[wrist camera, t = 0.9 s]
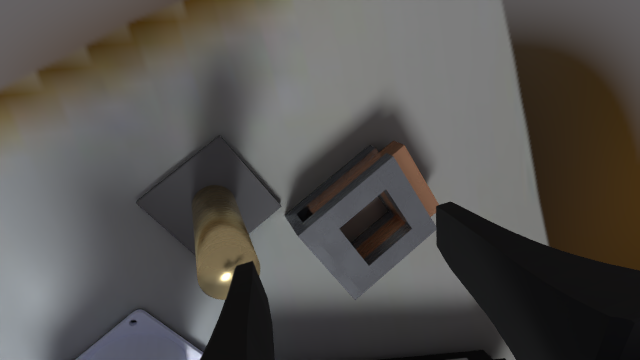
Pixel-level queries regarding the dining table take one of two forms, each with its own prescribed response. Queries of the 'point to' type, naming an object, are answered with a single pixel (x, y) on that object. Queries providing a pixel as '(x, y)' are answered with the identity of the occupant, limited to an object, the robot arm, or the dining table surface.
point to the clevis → (350, 198)
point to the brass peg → (219, 240)
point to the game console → (452, 356)
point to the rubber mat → (198, 172)
